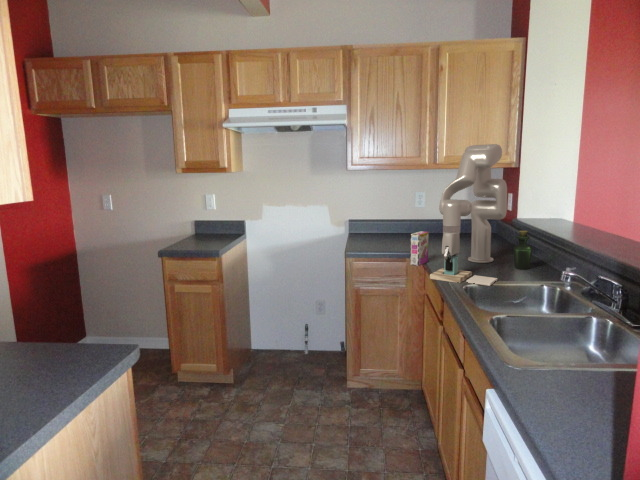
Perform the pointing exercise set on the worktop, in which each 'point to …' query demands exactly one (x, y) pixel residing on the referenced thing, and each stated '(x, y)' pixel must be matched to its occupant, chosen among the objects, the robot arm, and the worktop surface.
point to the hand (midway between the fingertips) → (451, 268)
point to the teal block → (455, 266)
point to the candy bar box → (419, 248)
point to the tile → (482, 280)
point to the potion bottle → (522, 252)
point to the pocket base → (451, 276)
